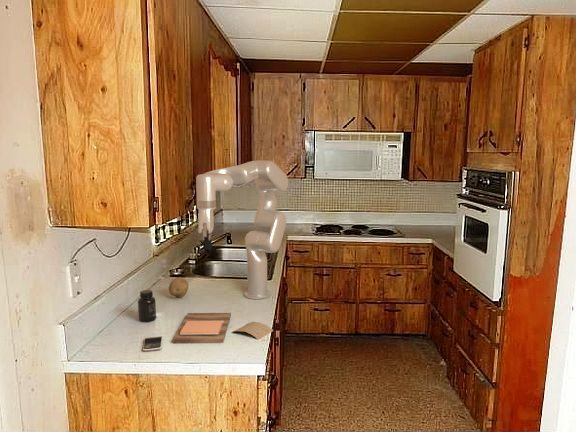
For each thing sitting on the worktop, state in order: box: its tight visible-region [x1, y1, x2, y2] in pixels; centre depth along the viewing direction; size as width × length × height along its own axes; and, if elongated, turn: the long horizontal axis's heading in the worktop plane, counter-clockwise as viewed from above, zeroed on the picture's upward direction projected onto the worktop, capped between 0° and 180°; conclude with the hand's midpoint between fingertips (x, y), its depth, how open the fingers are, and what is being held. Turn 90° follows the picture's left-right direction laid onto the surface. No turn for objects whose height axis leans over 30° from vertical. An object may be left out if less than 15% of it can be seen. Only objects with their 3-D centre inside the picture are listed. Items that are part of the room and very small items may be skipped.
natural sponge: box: [168, 277, 189, 299], centre depth 203 cm, size 9×9×10 cm
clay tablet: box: [232, 321, 274, 340], centre depth 165 cm, size 14×10×3 cm
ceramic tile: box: [180, 321, 223, 334], centre depth 164 cm, size 13×14×1 cm
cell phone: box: [142, 336, 163, 353], centre depth 154 cm, size 6×11×1 cm, turn 14°
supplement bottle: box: [137, 289, 157, 323], centre depth 177 cm, size 7×7×12 cm
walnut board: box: [172, 312, 232, 344], centre depth 168 cm, size 26×18×2 cm
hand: (207, 249), depth 176 cm, fingers closed
